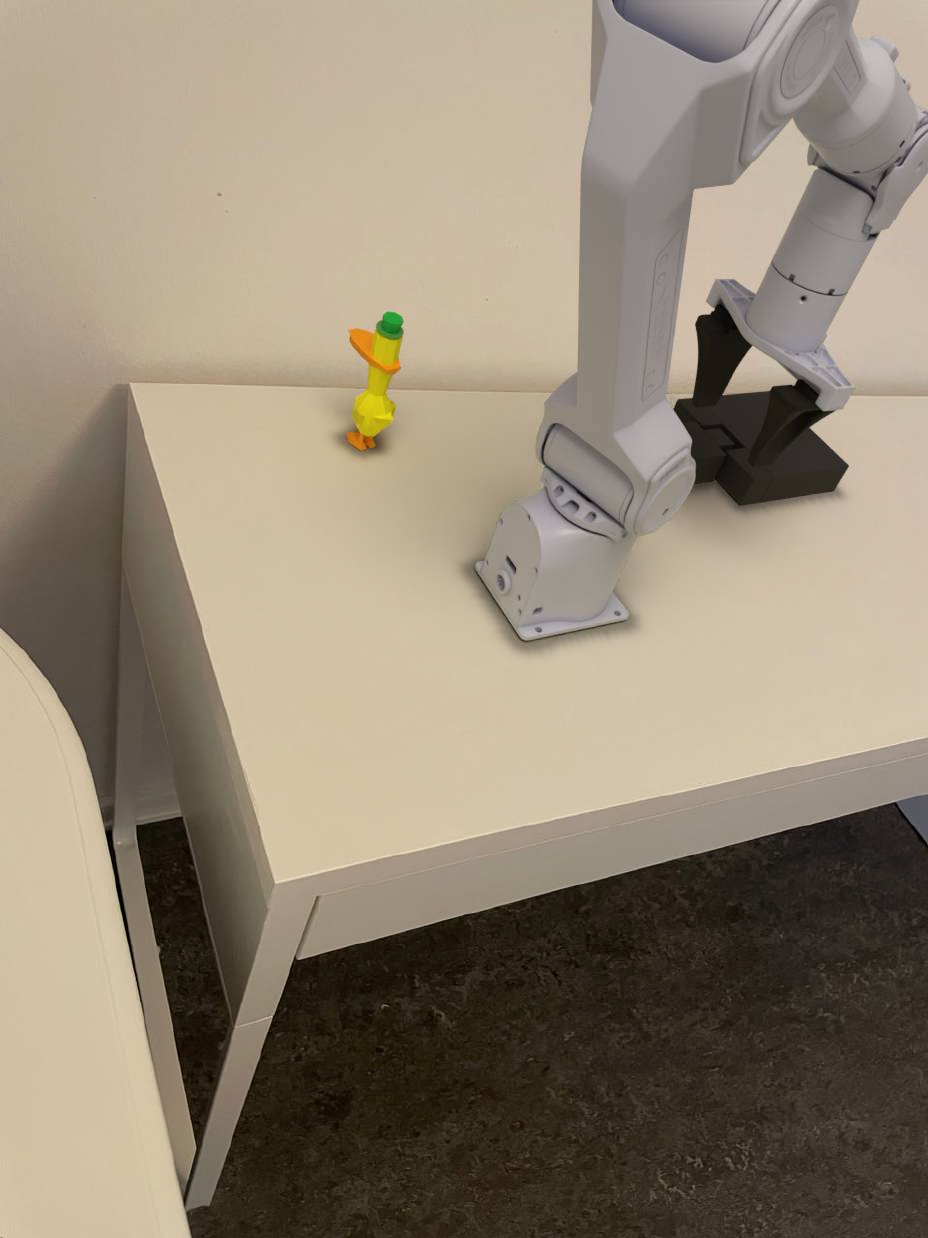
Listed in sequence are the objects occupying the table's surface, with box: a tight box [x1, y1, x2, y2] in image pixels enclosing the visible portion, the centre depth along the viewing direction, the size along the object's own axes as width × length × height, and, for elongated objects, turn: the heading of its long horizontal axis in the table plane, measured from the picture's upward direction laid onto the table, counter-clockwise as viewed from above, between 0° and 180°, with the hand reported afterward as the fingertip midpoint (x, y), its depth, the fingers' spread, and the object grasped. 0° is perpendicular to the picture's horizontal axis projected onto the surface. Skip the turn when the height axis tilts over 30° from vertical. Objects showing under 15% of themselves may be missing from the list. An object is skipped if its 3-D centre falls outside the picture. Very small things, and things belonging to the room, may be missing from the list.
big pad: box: [673, 390, 850, 506], centre depth 97 cm, size 12×12×3 cm
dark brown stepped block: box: [682, 422, 734, 485], centre depth 93 cm, size 7×5×3 cm
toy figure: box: [346, 311, 405, 452], centre depth 81 cm, size 7×4×12 cm, turn 40°
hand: (730, 433), depth 81 cm, fingers open, 7 cm apart
